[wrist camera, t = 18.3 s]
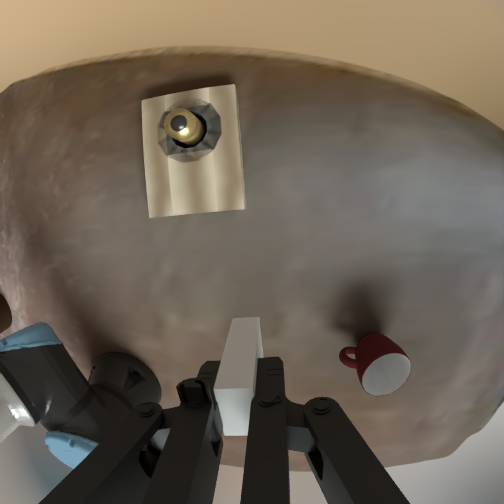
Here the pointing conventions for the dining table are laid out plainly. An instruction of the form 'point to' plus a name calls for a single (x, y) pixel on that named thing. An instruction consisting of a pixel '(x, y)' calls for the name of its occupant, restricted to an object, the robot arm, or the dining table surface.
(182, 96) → the jig
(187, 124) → the cylinder with metal cap
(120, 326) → the dining table surface
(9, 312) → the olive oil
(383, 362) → the mug
